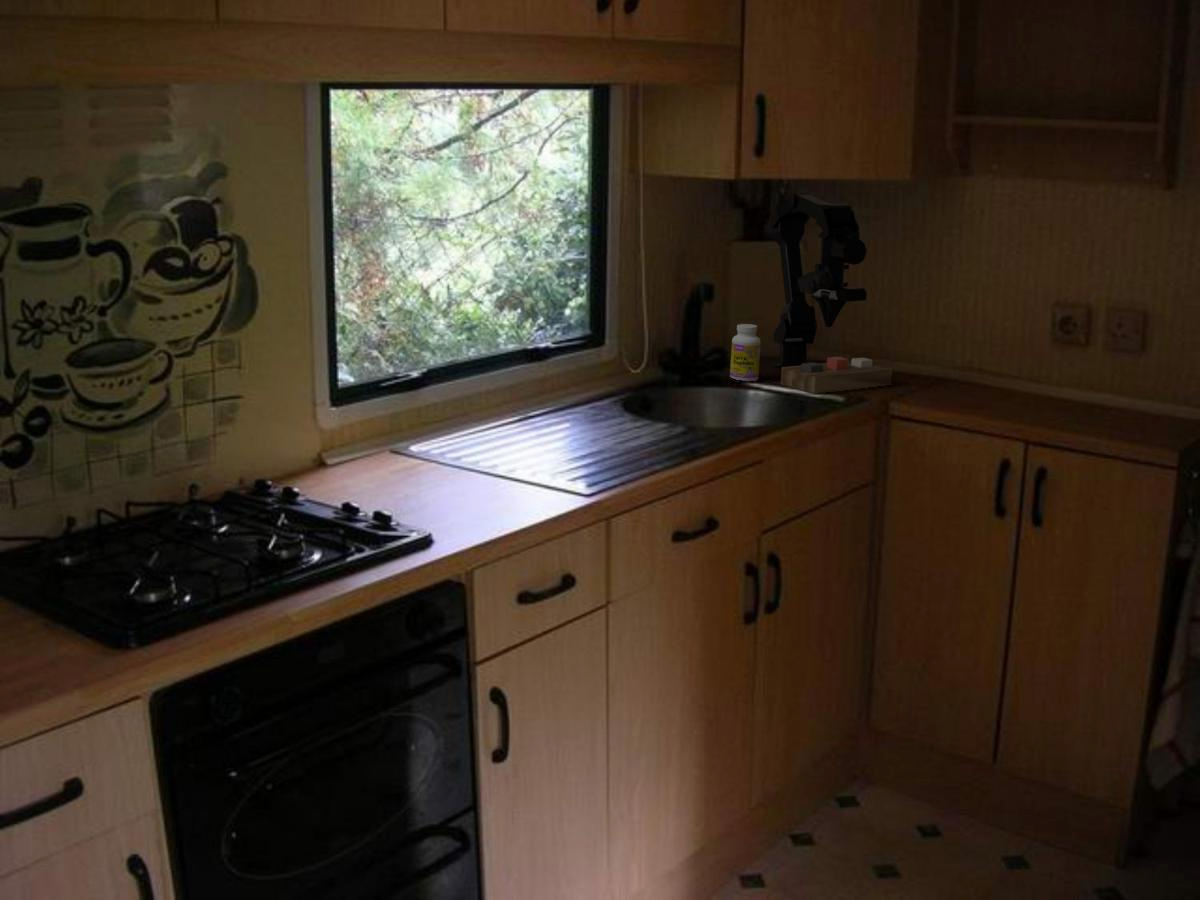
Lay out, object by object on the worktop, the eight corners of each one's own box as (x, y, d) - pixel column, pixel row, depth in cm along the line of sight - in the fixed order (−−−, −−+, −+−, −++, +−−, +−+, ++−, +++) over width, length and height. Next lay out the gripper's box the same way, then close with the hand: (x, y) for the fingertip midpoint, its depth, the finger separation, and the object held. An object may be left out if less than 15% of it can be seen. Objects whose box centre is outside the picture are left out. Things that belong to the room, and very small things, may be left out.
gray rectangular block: (800, 385, 313) (801, 363, 312) (811, 383, 315) (813, 362, 313) (809, 387, 310) (811, 366, 309) (821, 386, 312) (822, 364, 311)
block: (780, 384, 315) (781, 367, 314) (856, 376, 327) (857, 359, 326) (814, 394, 306) (815, 376, 305) (891, 385, 317) (892, 368, 316)
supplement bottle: (727, 381, 318) (729, 326, 314) (732, 376, 324) (735, 322, 321) (755, 383, 316) (758, 328, 313) (760, 378, 322) (763, 324, 319)
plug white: (850, 379, 321) (851, 358, 319) (861, 378, 322) (862, 357, 321) (860, 382, 318) (861, 361, 316) (871, 381, 319) (872, 360, 318)
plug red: (825, 378, 317) (827, 357, 315) (837, 377, 318) (838, 356, 317) (835, 381, 314) (837, 360, 312) (846, 380, 315) (848, 359, 314)
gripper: (779, 256, 316) (775, 323, 320) (832, 265, 301) (828, 335, 305) (816, 254, 322) (812, 320, 326) (870, 263, 306) (865, 332, 310)
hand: (828, 327), depth 316 cm, fingers closed
